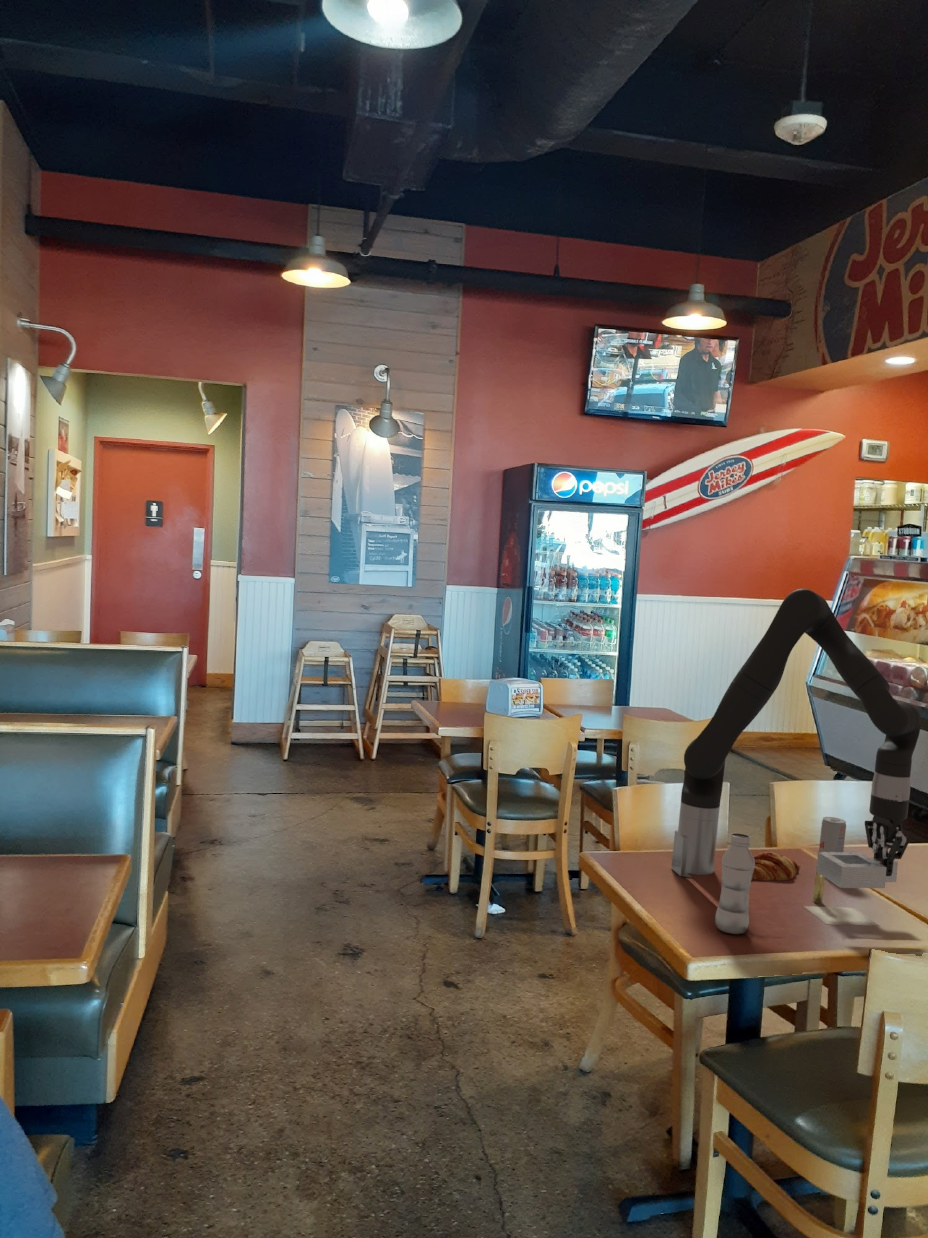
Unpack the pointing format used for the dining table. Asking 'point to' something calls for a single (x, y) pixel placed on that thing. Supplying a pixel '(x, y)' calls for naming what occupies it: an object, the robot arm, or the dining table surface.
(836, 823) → the beverage can
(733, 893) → the plastic bottle
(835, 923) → the board
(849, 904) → the dining table surface
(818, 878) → the post
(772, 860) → the croissant
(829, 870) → the grey frame with handle
